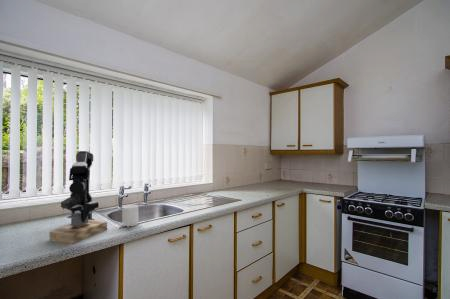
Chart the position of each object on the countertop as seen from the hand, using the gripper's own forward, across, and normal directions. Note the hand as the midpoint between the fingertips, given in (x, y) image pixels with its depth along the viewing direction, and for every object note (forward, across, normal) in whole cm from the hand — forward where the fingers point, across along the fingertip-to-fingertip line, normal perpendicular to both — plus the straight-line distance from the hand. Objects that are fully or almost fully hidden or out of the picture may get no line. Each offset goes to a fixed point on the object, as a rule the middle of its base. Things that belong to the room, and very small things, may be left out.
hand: (80, 221), depth 118 cm
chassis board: (+6, 0, 0) cm, 6 cm away
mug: (+6, +12, +21) cm, 25 cm away
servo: (+1, 0, 0) cm, 1 cm away
